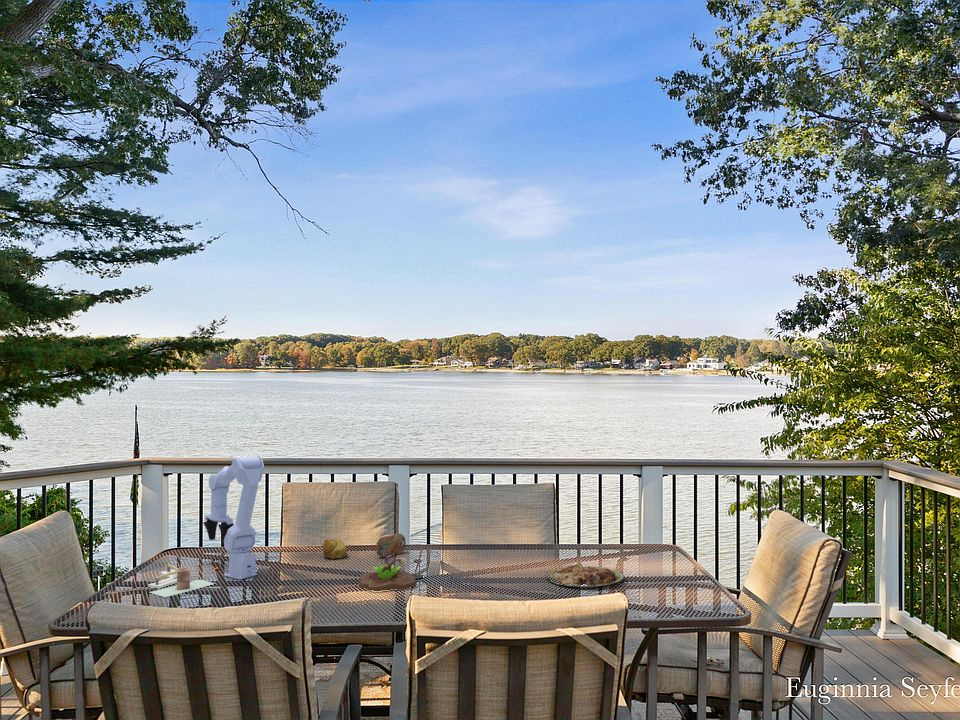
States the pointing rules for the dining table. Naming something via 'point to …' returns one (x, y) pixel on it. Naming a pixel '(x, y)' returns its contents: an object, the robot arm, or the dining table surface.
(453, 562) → the dining table surface
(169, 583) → the wire track
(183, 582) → the rust block
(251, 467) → the robot arm
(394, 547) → the tree canopy
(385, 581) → the plant
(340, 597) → the dining table surface
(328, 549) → the bread roll
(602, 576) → the rice dish
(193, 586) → the end mat
